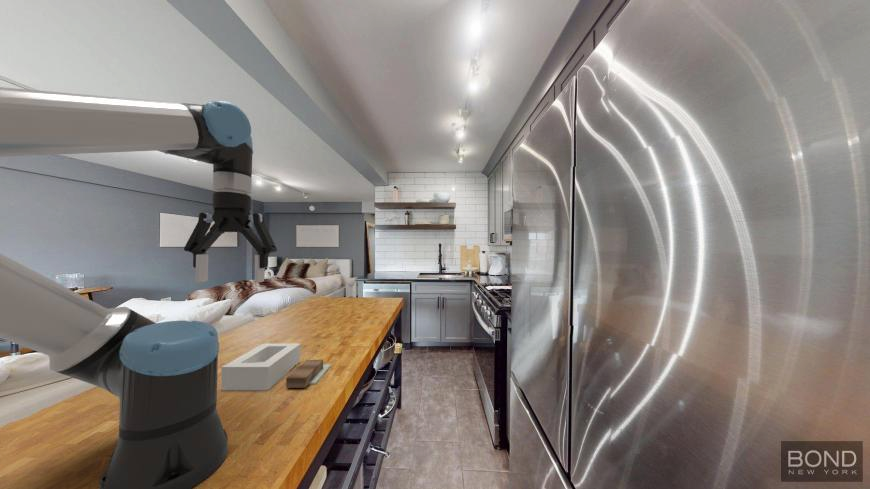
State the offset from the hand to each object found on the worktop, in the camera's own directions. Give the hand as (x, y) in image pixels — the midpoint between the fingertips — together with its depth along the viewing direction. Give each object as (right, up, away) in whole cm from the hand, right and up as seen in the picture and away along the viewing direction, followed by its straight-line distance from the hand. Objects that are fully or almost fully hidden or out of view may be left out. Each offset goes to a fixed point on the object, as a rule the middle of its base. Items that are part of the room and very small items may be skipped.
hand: (230, 282), depth 66 cm
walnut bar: (+12, -29, +12) cm, 33 cm away
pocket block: (-1, -29, +14) cm, 32 cm away
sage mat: (+12, -29, +15) cm, 35 cm away
